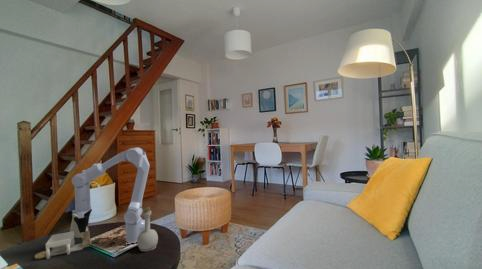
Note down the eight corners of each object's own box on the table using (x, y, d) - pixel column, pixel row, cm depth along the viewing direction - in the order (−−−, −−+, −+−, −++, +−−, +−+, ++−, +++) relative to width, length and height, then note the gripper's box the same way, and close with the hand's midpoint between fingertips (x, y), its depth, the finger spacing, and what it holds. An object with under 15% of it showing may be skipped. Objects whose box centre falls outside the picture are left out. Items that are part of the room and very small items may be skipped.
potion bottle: (151, 253, 95) (150, 210, 96) (132, 251, 97) (131, 209, 97) (162, 243, 104) (161, 204, 104) (145, 242, 106) (144, 203, 106)
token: (51, 252, 100) (51, 249, 100) (49, 257, 96) (48, 254, 96) (36, 255, 98) (36, 252, 98) (33, 261, 93) (33, 258, 93)
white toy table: (74, 244, 106) (73, 231, 106) (70, 254, 97) (69, 239, 97) (52, 249, 102) (52, 235, 102) (46, 259, 93) (45, 244, 93)
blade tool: (90, 243, 107) (89, 229, 107) (89, 247, 102) (88, 233, 102) (51, 251, 100) (51, 236, 100) (48, 256, 96) (48, 241, 96)
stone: (89, 235, 116) (89, 212, 116) (79, 239, 111) (78, 216, 111) (77, 232, 120) (77, 210, 120) (67, 236, 116) (66, 213, 116)
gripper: (74, 197, 108) (76, 225, 108) (68, 205, 95) (70, 237, 95) (92, 194, 112) (93, 222, 112) (88, 202, 99) (90, 233, 99)
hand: (83, 229), depth 104 cm, fingers open, 7 cm apart
